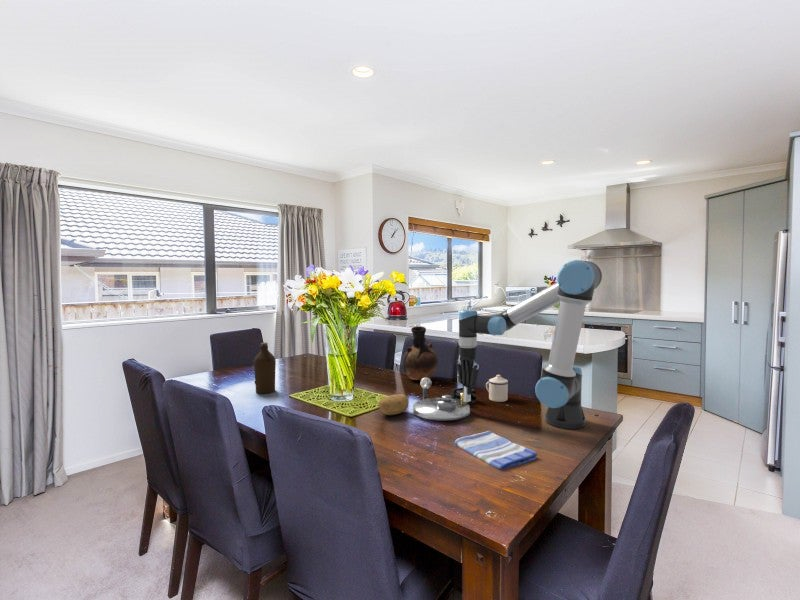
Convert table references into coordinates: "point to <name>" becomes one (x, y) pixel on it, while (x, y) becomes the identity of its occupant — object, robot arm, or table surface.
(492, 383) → the teacup with lid
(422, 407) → the turntable
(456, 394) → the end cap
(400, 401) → the potato
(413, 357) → the ceramic vessel
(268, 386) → the olive oil
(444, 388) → the table surface
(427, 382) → the dial stand
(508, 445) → the dish towel
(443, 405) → the cover
